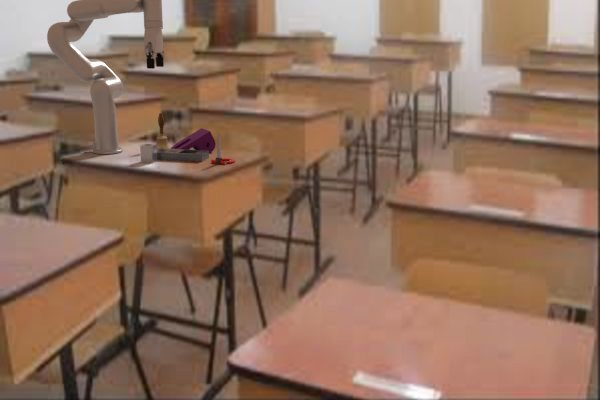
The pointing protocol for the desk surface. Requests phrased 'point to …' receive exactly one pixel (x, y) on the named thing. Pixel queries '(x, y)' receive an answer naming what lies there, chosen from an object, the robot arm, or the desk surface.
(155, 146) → the white cylinder
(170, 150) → the grey tray
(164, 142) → the hand bell
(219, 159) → the red scissors
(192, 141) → the mounting bracket
